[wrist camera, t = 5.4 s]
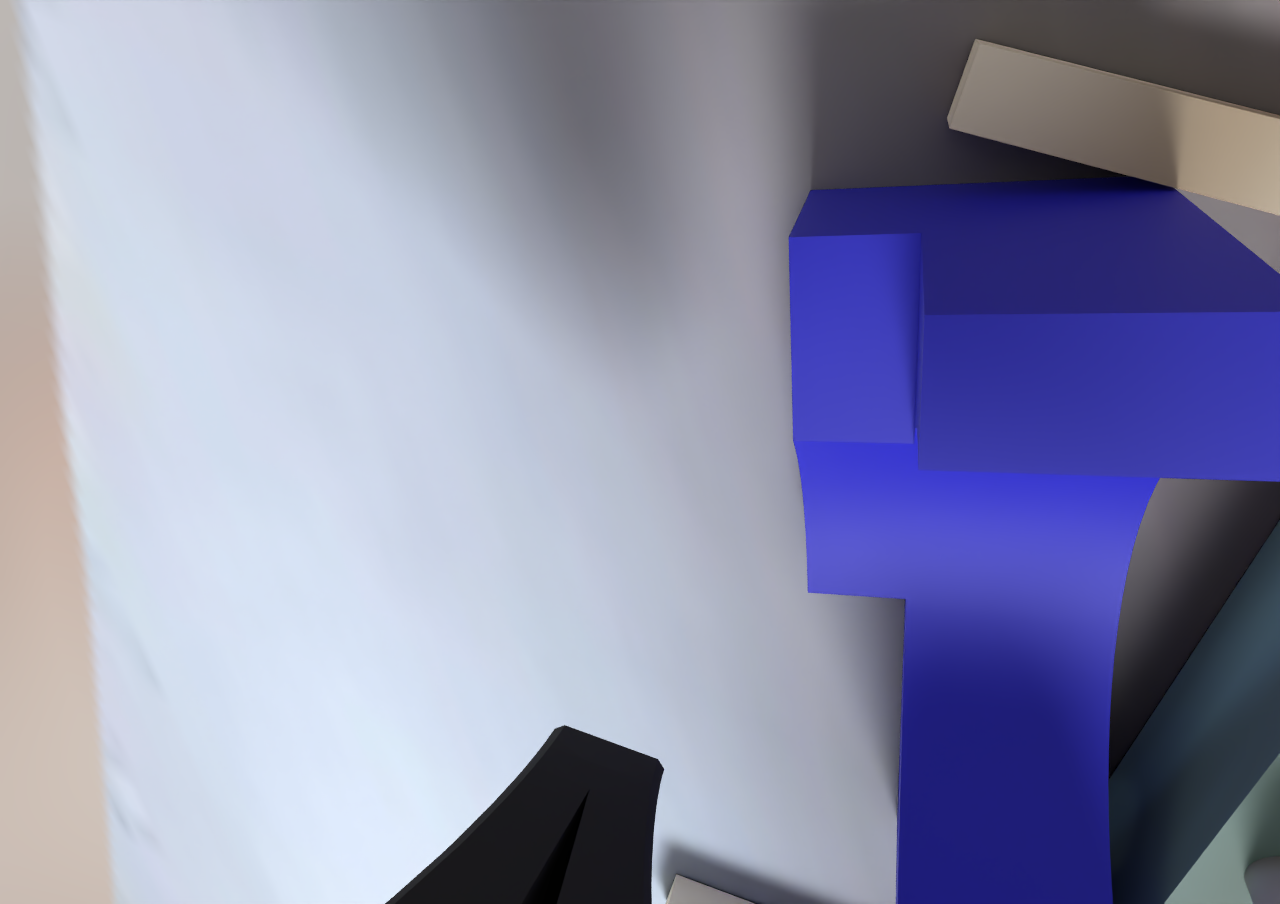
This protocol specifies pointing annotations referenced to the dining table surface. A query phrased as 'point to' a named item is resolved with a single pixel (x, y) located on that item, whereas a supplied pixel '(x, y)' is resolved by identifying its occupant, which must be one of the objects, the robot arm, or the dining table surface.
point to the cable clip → (1014, 479)
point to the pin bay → (1276, 579)
